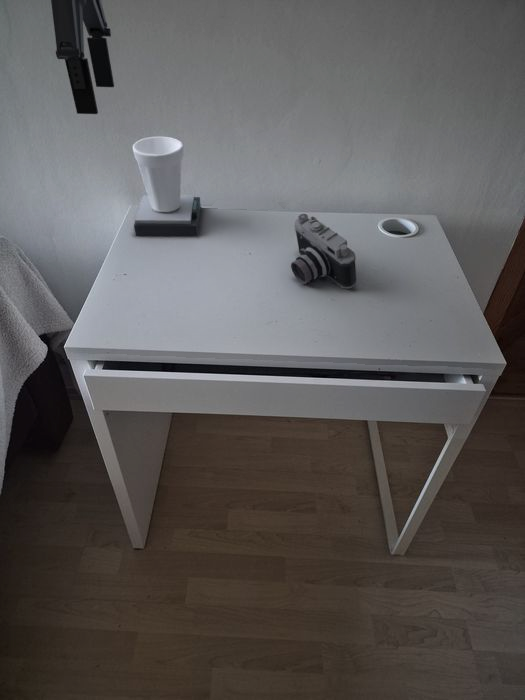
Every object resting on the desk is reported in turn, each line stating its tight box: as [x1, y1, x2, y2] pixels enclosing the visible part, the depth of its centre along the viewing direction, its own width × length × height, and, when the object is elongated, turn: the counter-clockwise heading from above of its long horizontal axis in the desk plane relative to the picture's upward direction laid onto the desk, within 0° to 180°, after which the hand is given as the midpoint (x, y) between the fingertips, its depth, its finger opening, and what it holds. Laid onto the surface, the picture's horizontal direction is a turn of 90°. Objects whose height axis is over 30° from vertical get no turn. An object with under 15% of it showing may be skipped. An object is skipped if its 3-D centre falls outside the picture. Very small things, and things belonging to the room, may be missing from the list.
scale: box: [133, 194, 202, 237], centre depth 98 cm, size 13×13×4 cm
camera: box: [290, 213, 357, 289], centre depth 83 cm, size 16×9×10 cm, turn 34°
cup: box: [132, 135, 184, 212], centre depth 93 cm, size 10×10×13 cm
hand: (97, 99), depth 67 cm, fingers open, 13 cm apart
